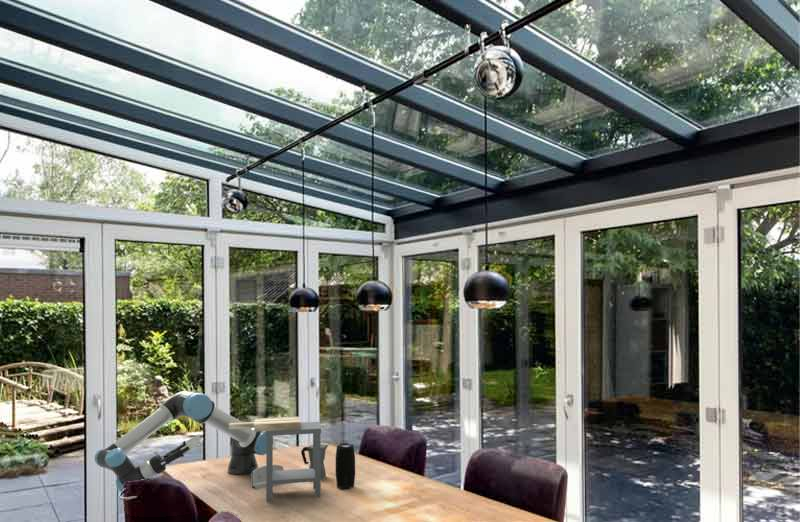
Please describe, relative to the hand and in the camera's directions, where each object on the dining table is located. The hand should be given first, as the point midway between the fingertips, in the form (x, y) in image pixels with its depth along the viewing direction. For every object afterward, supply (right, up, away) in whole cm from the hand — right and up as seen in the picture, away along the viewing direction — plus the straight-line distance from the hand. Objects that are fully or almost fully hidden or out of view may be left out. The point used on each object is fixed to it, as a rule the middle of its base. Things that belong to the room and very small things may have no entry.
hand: (198, 439), depth 272 cm
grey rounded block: (+26, -28, +22) cm, 44 cm away
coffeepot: (+47, -28, +33) cm, 64 cm away
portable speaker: (+64, -27, +14) cm, 71 cm away
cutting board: (+28, +4, +5) cm, 29 cm away
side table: (+41, -26, +5) cm, 49 cm away
